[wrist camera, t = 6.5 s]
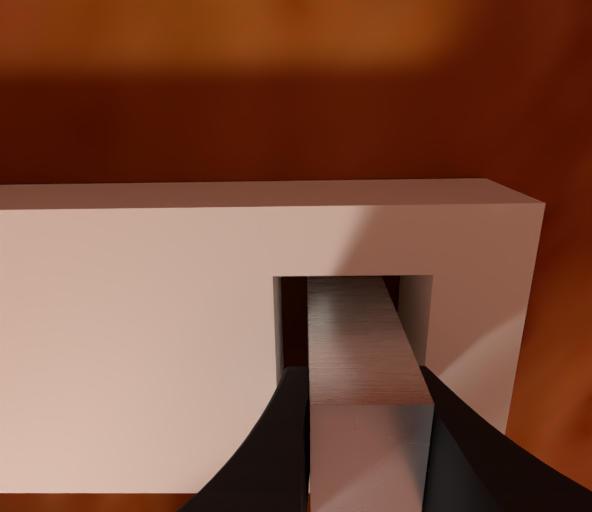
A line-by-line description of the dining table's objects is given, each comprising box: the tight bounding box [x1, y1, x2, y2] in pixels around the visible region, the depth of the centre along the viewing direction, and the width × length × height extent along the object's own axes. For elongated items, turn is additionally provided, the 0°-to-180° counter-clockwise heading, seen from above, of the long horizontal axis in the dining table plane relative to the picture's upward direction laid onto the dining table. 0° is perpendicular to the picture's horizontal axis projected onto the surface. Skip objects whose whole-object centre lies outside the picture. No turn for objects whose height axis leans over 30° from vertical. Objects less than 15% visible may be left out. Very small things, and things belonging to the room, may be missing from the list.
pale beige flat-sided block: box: [0, 178, 546, 493], centre depth 15 cm, size 10×22×4 cm, turn 91°
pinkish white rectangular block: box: [307, 275, 434, 512], centre depth 13 cm, size 4×2×7 cm, turn 1°
